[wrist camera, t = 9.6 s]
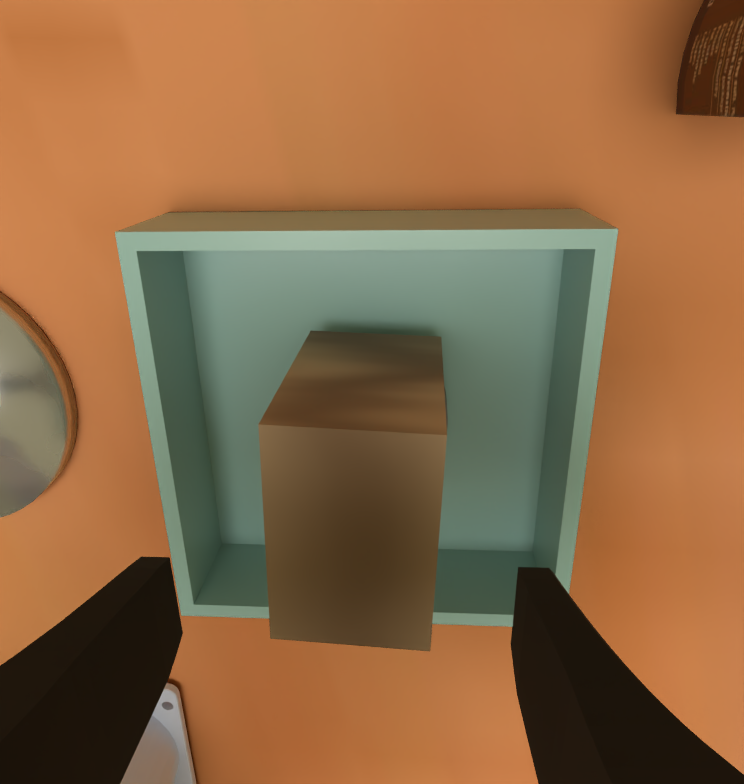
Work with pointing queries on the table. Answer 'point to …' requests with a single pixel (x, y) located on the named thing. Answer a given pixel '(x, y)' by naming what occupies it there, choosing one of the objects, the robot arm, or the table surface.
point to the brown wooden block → (355, 490)
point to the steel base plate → (31, 410)
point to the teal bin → (380, 316)
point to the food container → (714, 62)
